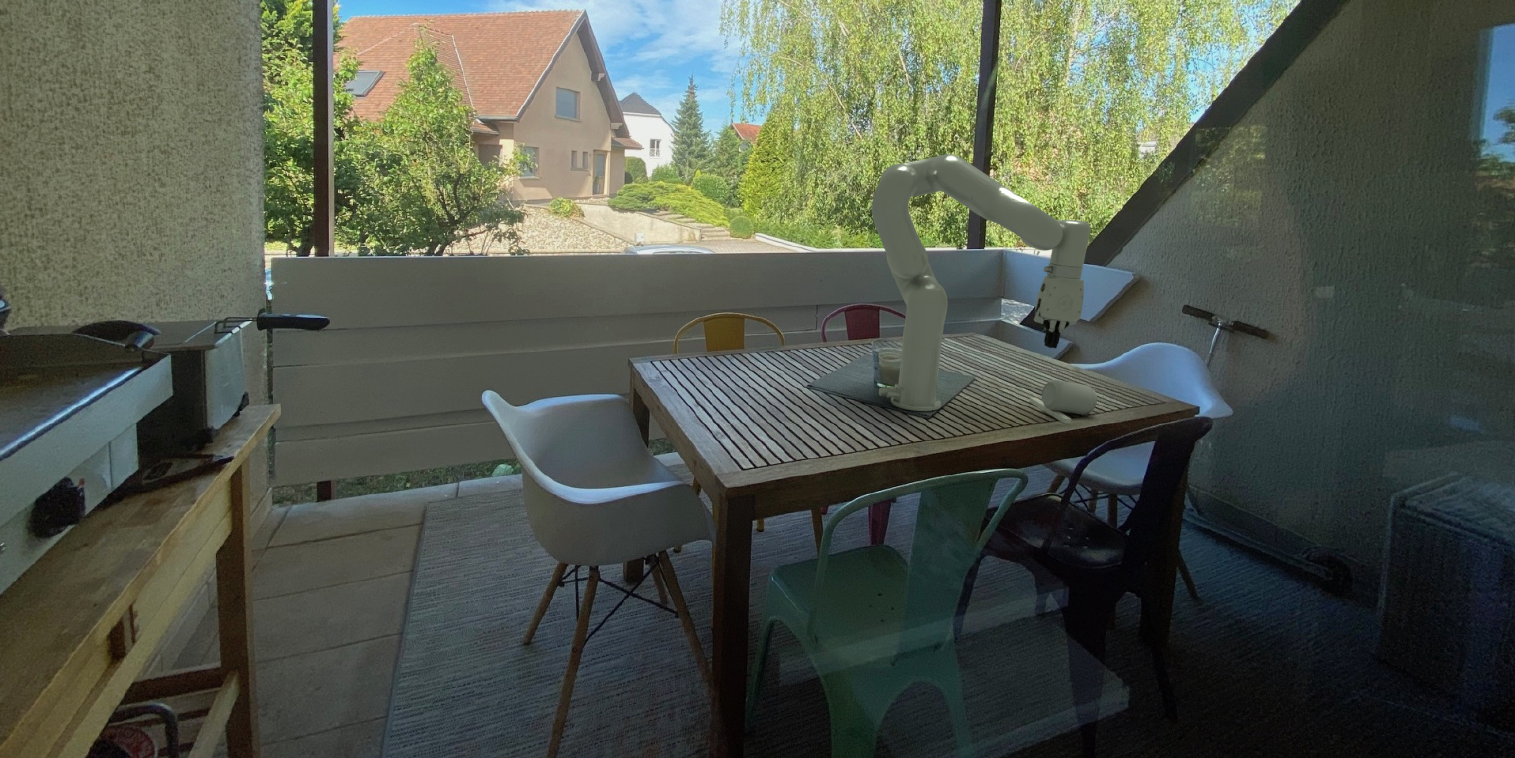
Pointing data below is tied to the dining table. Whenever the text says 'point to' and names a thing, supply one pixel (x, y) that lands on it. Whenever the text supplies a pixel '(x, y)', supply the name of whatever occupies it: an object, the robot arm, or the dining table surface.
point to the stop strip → (1051, 411)
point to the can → (1069, 397)
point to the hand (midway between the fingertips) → (1050, 346)
